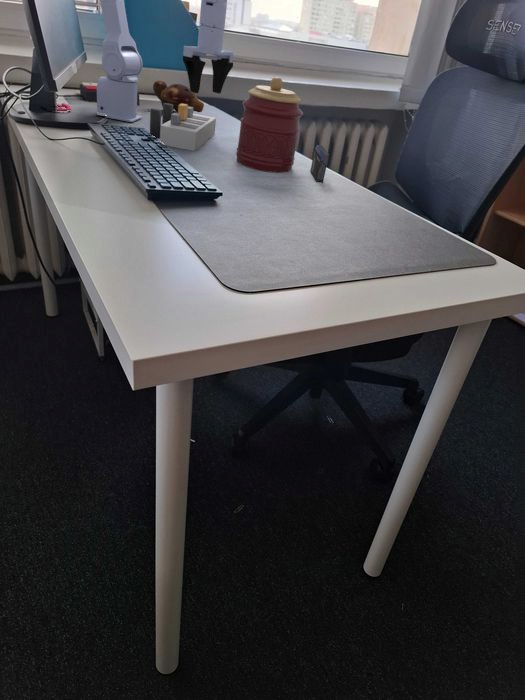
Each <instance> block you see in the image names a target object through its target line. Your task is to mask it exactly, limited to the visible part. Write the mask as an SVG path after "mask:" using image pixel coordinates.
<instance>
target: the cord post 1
mask: <svg viewBox="0 0 525 700" xmlns="http://www.w3.org/2000/svg"><path fill="white" fill-rule="evenodd" d="M149 117H150V118H149V135H150V134H151V135H153V136H155V137H156V138H158V139H159V140H160V128H161V125H162V109H159V108H153V107H152V108H150V115H149ZM156 138H155V139H156Z"/></svg>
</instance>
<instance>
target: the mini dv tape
mask: <svg viewBox="0 0 525 700" xmlns="http://www.w3.org/2000/svg"><path fill="white" fill-rule="evenodd" d="M329 156H330V153H329V152H328V151H327V149H325V147H324V146H323V145H320V144H316V146H315V148H314V152H313V155H312V161H311V165H310V166H311V167H310V169H309V172H310V174H311V176H312V179H314V181H315V183H320V184H323V183H324V179H325V175H326V171H327V165H328V161H329Z"/></svg>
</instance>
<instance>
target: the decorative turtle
mask: <svg viewBox="0 0 525 700" xmlns="http://www.w3.org/2000/svg"><path fill="white" fill-rule="evenodd" d="M152 90H153V92H154V94H155V96H156V98H157V99H158V100H159V101H160V102H161V107H162V108H163V103H168V104H172V105H173V110H174V111H175V113H178V105H180V104H187V105H188V106H189V107H194V109H193V112H197V113H201V112H203V110H204V107H205V104H204V102H202V101H201V100H199V99H198V96H197V93H194V92H191V91H190V87H188V86H186V85H185V84H180V83H173V84H170V85H169V86H168V85H167V83H166V82H165V81H164V80H156V81H154V83H153V85H152Z"/></svg>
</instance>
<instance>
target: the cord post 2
mask: <svg viewBox="0 0 525 700" xmlns="http://www.w3.org/2000/svg"><path fill="white" fill-rule="evenodd" d="M173 113H174V109H173V105H172V104H168V103H163V107H162V119H161V125H162V124H164V123H166V122H168V121H170V120H171V114H173Z"/></svg>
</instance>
